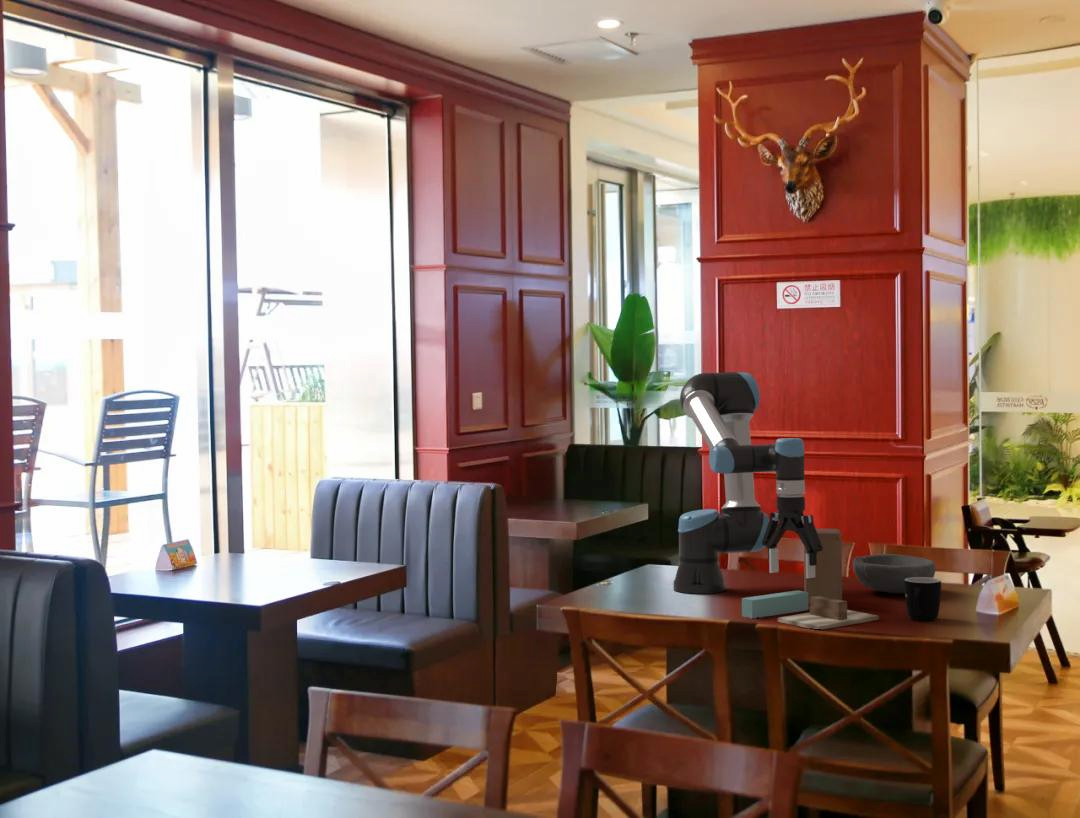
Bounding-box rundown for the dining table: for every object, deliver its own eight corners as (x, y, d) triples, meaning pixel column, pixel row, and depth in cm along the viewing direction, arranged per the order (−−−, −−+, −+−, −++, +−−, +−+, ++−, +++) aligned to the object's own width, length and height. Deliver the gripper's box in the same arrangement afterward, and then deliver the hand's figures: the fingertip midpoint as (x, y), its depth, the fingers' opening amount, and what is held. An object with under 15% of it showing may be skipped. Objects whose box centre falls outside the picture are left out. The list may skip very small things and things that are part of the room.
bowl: (906, 603, 345) (906, 566, 345) (838, 593, 362) (837, 558, 362) (951, 592, 361) (951, 557, 360) (883, 583, 378) (883, 550, 377)
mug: (909, 614, 329) (909, 576, 328) (945, 617, 324) (944, 578, 324) (897, 622, 318) (897, 582, 318) (933, 625, 314) (933, 585, 314)
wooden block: (842, 606, 342) (841, 532, 342) (804, 605, 344) (804, 532, 344) (841, 599, 352) (840, 528, 352) (804, 599, 354) (803, 528, 354)
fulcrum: (777, 621, 322) (777, 600, 322) (837, 611, 334) (837, 591, 334) (818, 630, 311) (817, 608, 310) (878, 619, 323) (878, 598, 323)
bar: (742, 617, 330) (741, 598, 330) (797, 608, 341) (797, 590, 341) (752, 619, 327) (752, 600, 327) (808, 610, 338) (808, 592, 338)
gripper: (748, 494, 345) (749, 571, 345) (814, 499, 324) (816, 581, 324) (768, 492, 349) (769, 569, 349) (835, 497, 328) (836, 578, 328)
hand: (792, 575), depth 337 cm, fingers open, 13 cm apart
